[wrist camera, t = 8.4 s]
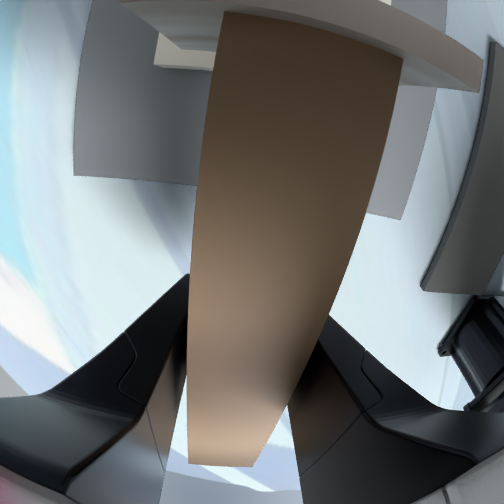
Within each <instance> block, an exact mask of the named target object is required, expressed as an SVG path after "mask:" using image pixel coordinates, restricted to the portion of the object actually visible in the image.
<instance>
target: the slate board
mask: <svg viewBox="0 0 504 504" xmlns="http://www.w3.org/2000/svg"><path fill="white" fill-rule="evenodd" d="M120 1H121V0H93V2H92V6H91V10H90V14H89V19H88V23H87V28H86V33H85V38H84V43H83V48H82V54H81V61H80V68H79V75H78V84H77V93H76V104H75V119H74V147H73V167H74V175H75V176H93V177H108V178H122V179H134V180H146V181H157V182H167V183H176V184H186V185H195V186H197V183H198V174H199V165H200V156H201V148H202V140H203V133H204V125H205V118H206V111H207V104H208V98H209V91H210V85H211V79H212V73H213V71H204V70H192V69H177V68H162V67H159V66H157V65H154V58H155V53H156V47H157V42H158V37H159V31H157V30H156V29H155V28H153V27H152V26H151V25H150V24H148V23H147V22H145V21H144V20H143V19H141V18H140V17H139V16H137V15H136V14H134V13H133V12H132V11H130V10H129V9H127V8H126V7H125V6H123V5H122V4H120ZM391 6H393V7H395V8H397V9H399V10H401V11H403V12H406V13H408V14H410V15H412V16H414V17H415V18H417V19H419V20H421V21H423V22H425V23H427V24H429V25H430V26H432V27H434V28H436V29H437V30H439V31H441V32H442V33H444V34H445V26H446V13H447V0H391ZM436 90H437V87H425V86H409V85H399V86H398V91H397V96H396V101H395V106H394V110H393V115H392V119H391V124H390V128H389V132H388V136H387V140H386V144H385V148H384V152H383V156H382V159H381V163H380V167H379V170H378V174H377V178H376V181H375V184H374V188H373V191H372V195H371V198H370V201H369V204H368V208H367V211H366V213H370V214H374V215H379V216H384V217H388V218H393V219H398V220H401V217H402V214H403V212H404V209H405V206H406V203H407V200H408V197H409V194H410V191H411V188H412V185H413V181H414V178H415V175H416V172H417V168H418V165H419V161H420V158H421V154H422V151H423V147H424V143H425V139H426V135H427V131H428V127H429V123H430V119H431V114H432V110H433V105H434V100H435V95H436Z"/></svg>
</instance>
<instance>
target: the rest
mask: <svg viewBox="0 0 504 504" xmlns="http://www.w3.org/2000/svg"><path fill="white" fill-rule="evenodd" d="M503 253H504V49H503V48H502V47H501V46H500V45H499V44H497V43H496V42H490V55H489V66H488V74H487V82H486V89H485V95H484V101H483V106H482V112H481V117H480V121H479V126H478V130H477V135H476V139H475V143H474V147H473V151H472V154H471V158H470V162H469V165H468V168H467V172H466V175H465V178H464V181H463V185H462V188H461V191H460V194H459V197H458V199H457V202H456V205H455V208H454V211H453V213H452V216H451V218H450V221H449V224H448V226H447V229H446V231H445V234H444V236H443V238H442V241H441V243H440V246H439V248H438V250H437V252H436V255H435V257H434V259H433V261H432V263H431V266H430V268H429V270H428V272H427V274H426V276H425V278H424V280H423V282H422V284H421V286H420V287H421V288H422V290H423V291H427V292H441V293H455V294H470V295H482V294H483V292H484V290H485V289H486V287H487V285H488V283H489V281H490V279H491V277H492V275H493V273H494V271H495V269H496V267H497V265H498V263H499V261H500V259H501V257H502V255H503Z"/></svg>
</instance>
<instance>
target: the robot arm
mask: <svg viewBox="0 0 504 504" xmlns="http://www.w3.org/2000/svg"><path fill="white" fill-rule="evenodd" d="M189 284H190V274H186V275H184V276H183V277H182V278H181V279H180V280H179V281H178V282H177V283H176V284H174V285H173V286H172V287H171V288H170V289H169V290H168V291H167V292H166V293H165V294H163V295H162V296H161V297H160V298H159V299H158V300H157V301H156V302H155V303H154V304H153V305H152V306H150V307H149V308H148V309H147V310H146V311H145V312H144V313H143V314H142V315H141V316H140V317H139V318H137V319H136V320H135V321H134V322H133V323H132V324H131V325H130V326H129V327H128V328H127V329H126V330H125V331H124V332H123V333H121V334H120V335H119V336H118V337H117V338H116V339H115V340H114V341H113V342H112V343H110V344H109V345H108V346H107V347H106V348H105V349H104V350H103V351H101V352H100V353H99V354H97V355H96V356H95V357H94V358H92V359H91V360H90V361H88V362H87V363H86V364H84V365H83V366H82V367H80V368H79V369H78V370H76V371H75V372H74V373H72V374H71V375H70V376H68V377H67V378H65V379H64V380H63V381H61V382H60V383H59V384H57V385H56V386H54V387H53V388H51V389H50V390H48V391H46V392H43V393H41V394H37V395H32V396H20V397H3V398H0V504H159V501H160V496H161V491H162V485H163V481H164V475H165V474H164V473H165V470H166V465H167V460H168V456H169V451H170V446H171V441H172V437H173V432H174V427H175V423H176V418H177V414H178V409H179V405H180V400H181V396H182V392H183V387H184V383H185V379H186V375H187V331H188V304H189ZM438 354H439V356H440V357H443V356H452V358H453V359H454V361H455V363H456V364H457V366H458V368H459V369H460V371H461V373H462V375H463V376H464V378H465V380H466V381H467V383H468V385H469V387H470V389H471V390H472V392H473V394H474V396H475V398H474V399H473V400H472V401H471V402H470V403H467V404H466V405H465V406H464V407H463V409H464V411H458V410H448V409H444V408H441V407H438V406H436V405H434V404H432V403H431V402H429V401H428V400H427V399H425V398H424V397H423V396H422V395H420V394H419V393H418V392H416V391H415V390H414V389H412V388H411V387H410V386H409V385H407V384H406V383H405V382H403V381H402V380H401V379H400V378H398V377H397V376H396V375H395V374H393V373H392V372H391V371H390V370H388V369H387V368H386V367H385V366H384V365H383V364H382V363H380V362H379V361H378V360H377V359H376V358H375V357H374V356H373V355H372V354H371V353H370V352H368V351H367V350H366V351H365V348H364V347H363V346H362V345H361V344H360V343H359V342H358V341H357V340H355V339H354V338H353V337H352V336H351V335H350V334H349V333H348V332H347V331H346V330H345V329H344V328H343V327H342V326H340V325H339V324H338V323H337V322H336V321H335V320H334V319H333V318H332V317H331V316H330V315H328V317H327V319H326V322H325V324H324V327H323V329H322V331H321V334H320V336H319V338H318V340H317V343H316V345H315V347H314V349H313V352H312V354H311V356H310V358H309V360H308V362H307V365H306V367H305V369H304V371H303V373H302V375H301V377H300V379H299V381H298V383H297V385H296V388H295V390H294V392H293V394H292V396H291V398H290V400H289V402H288V403H287V406H288V412H289V418H290V424H291V430H292V436H293V442H294V448H295V454H296V460H297V466H298V472H299V477H300V478H299V479H300V485H301V491H302V498H303V504H504V296H478V295H476V296H474V297H473V298H472V299H471V300H470V302H469V304H468V305H467V307H466V309H465V310H464V312H463V314H462V315H461V317H460V319H459V320H458V322H457V323H456V325H455V327H454V328H453V330H452V331H451V333H450V334H449V336H448V337H447V339H446V340H445V342H444V343H443V344H442V346H441V347H440V349H439V350H438Z"/></svg>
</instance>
